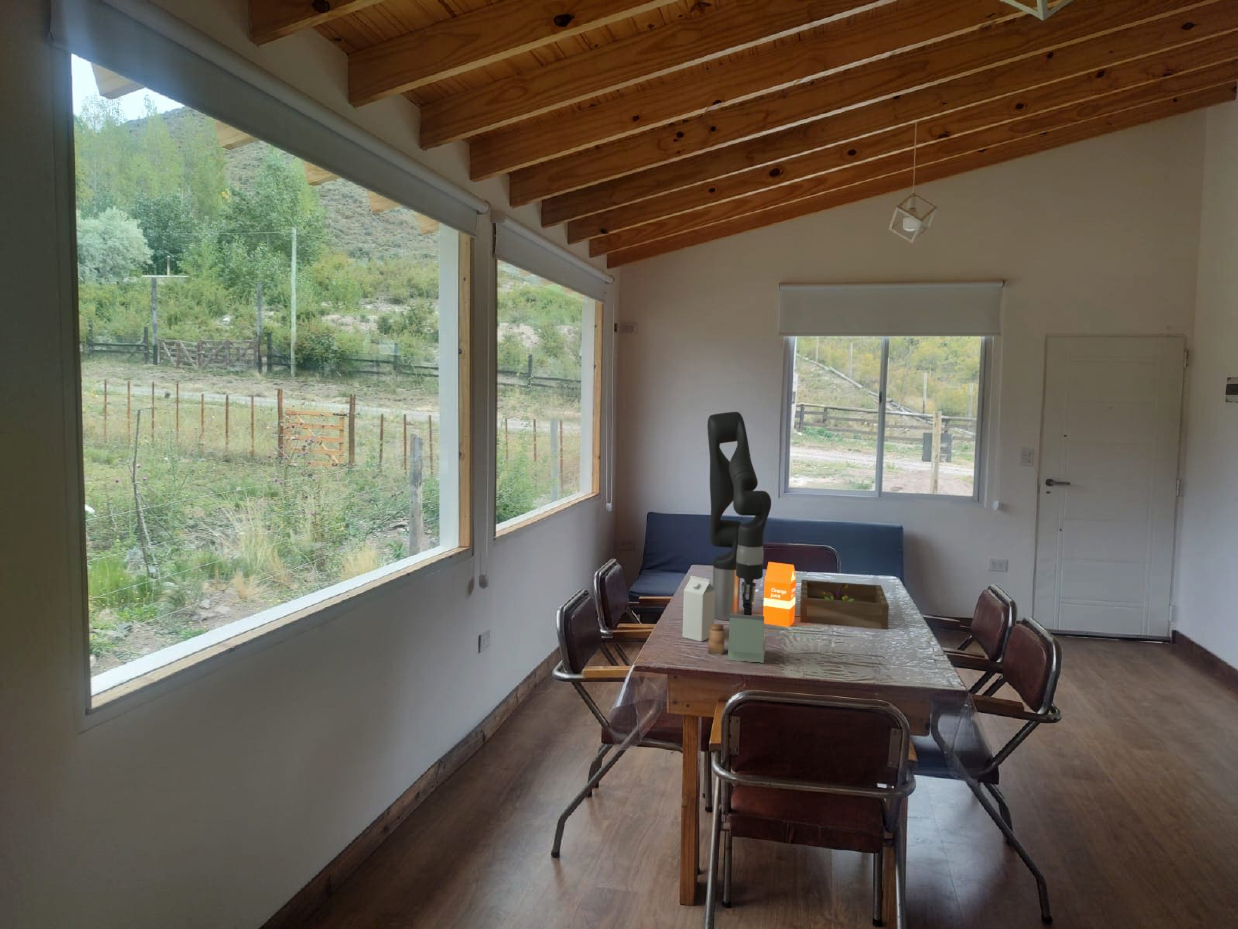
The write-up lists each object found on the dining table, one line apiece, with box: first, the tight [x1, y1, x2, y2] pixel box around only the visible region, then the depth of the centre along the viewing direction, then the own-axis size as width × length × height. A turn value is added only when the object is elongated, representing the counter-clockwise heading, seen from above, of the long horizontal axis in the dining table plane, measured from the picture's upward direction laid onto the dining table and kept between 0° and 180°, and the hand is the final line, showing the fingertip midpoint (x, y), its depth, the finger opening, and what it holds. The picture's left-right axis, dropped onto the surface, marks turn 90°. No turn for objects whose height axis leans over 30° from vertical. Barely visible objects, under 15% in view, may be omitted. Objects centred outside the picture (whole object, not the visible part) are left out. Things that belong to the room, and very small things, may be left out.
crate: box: [727, 632, 767, 664], centre depth 233 cm, size 10×10×6 cm
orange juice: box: [762, 561, 797, 628], centre depth 268 cm, size 8×9×20 cm
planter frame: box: [799, 579, 890, 631], centre depth 279 cm, size 28×28×8 cm
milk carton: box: [682, 575, 715, 642], centre depth 250 cm, size 7×7×19 cm
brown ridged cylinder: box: [707, 623, 726, 655], centre depth 236 cm, size 5×5×8 cm
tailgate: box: [728, 613, 765, 654], centre depth 227 cm, size 1×10×11 cm, turn 77°
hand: (747, 620), depth 229 cm, fingers closed
